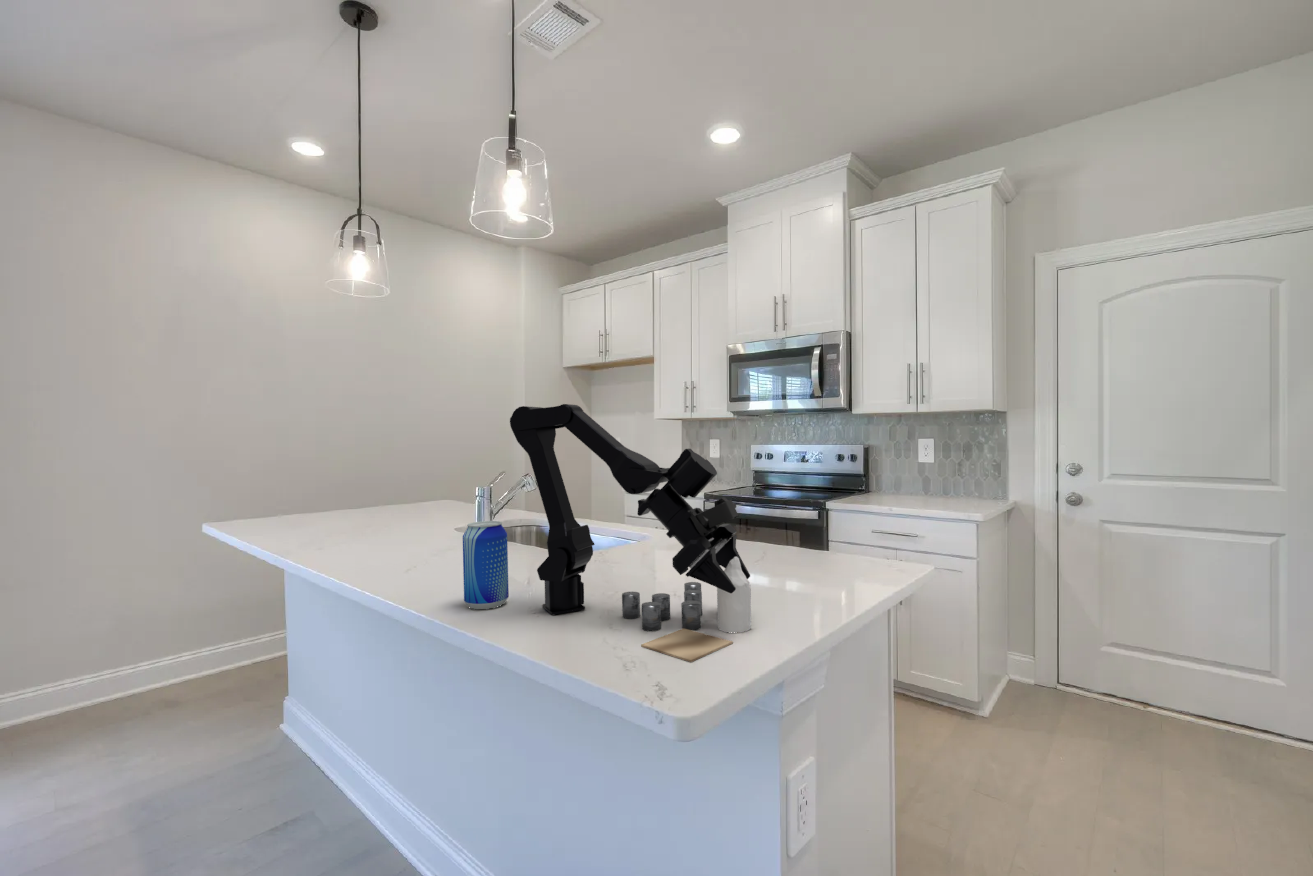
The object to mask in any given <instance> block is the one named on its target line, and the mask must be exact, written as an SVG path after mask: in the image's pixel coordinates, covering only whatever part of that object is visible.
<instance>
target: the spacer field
mask: <svg viewBox="0 0 1313 876" xmlns="http://www.w3.org/2000/svg"><path fill="white" fill-rule="evenodd" d="M683 587H684V588H683V589H684V591H683V600H684V601H682V602H681V603H680V604H681V629H683V628H684V629H688V630H692V631H696V630H700V629H701V628H702V616H703V596H702V595H703V594H702V593H703V592H702V583H700V582H699V581H697V582H696V581H690V582H685V583H684V585H683ZM640 595H641V594H640V592H638V591H625V592H622V594H621V605H622V606H621V608H622V609H621V611H622V612H621V613H622V618H623V619H627V620H633V619H634V620H635V619H638V618H640V617H641V630H643V632H644V631H645V632H657V631H660V630H661V629H662V622H665V621H669V620H671V594H669V593H664V592H663V593H662V592H661V593H660V592H659V593H653V594H652V595H651V601H647V602H643V603H641V596H640Z"/></svg>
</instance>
